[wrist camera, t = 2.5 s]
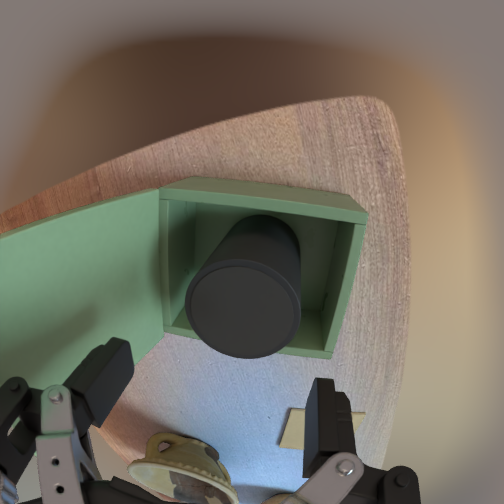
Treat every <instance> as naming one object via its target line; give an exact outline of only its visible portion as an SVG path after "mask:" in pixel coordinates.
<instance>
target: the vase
mask: <svg viewBox="0 0 504 504" xmlns="http://www.w3.org/2000/svg"><path fill="white" fill-rule="evenodd" d="M289 495H291V493H284V494H277V495H274V496H272V497H271V498H269V499H267V500H265V501H263V502H262V503H261V504H279V503H281V502H282V501H283V500H284V499H285V498H286V497H288V496H289Z"/></svg>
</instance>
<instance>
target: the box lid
mask: <svg viewBox="0 0 504 504" xmlns="http://www.w3.org/2000/svg"><path fill="white" fill-rule="evenodd" d="M112 337H117V338H120V339H124V340H127V341H129V342H130V346H131V351H132V356H133V361H134V366H135V365H136V364H137V363H138V362H139V361H140V360H141V359H142V358H143V357H144V356H145V355H146V354H147V353H148V352H149V351H150V350H151V349H152V348H153V347H154V346H155V345H156V344H157V343H158V342H159V341H160V340H161V339H162V338H163V337H164V329H163V316H162V302H161V285H160V262H159V189H153V188H149V189H145V190H141V191H137V192H133V193H129V194H125V195H121V196H117V197H113V198H110V199H106V200H103V201H99V202H95V203H92V204H88V205H85V206H82V207H78V208H75V209H72V210H68V211H65V212H62V213H59V214H56V215H53V216H50V217H47V218H44V219H41V220H38V221H35V222H32V223H29V224H26V225H23V226H21V227H18V228H15V229H13V230H10V231H7V232H5V233H2V234H0V387H1V386H2V385H3V384H4V383H5V382H6V381H7V380H8V379H9V378H11V377H16V376H18V377H22V378H24V379H25V380H26V382H27V383H28V385H29V387H31V388H36V389H41V390H44V389H46V388H47V387H49V386H51V385H56V384H58V385H62V384H63V383H64V381H65V380H66V379H67V378H68V377H69V376H70V374H71V373H72V372H73V371H74V370H75V369H76V367H77V366H78V365H79V364H81V362H82V360H83V359H84V358H86V356H87V355H88V354H89V352H90V351H91V350H92V349H94V348H96V347H97V346H99V345H101V344H103V345H105V344H106V343H107V342H108V341H109V340H110V338H112ZM19 420H20V419H19V417H18V418H17V419H16V420H15V422H14V423H13V425H12V426H11V427H12V429H14V427H15V426H16V425H17V423H18V422H19ZM34 455H35V456H36V457H37V453H36V452H35V453H34Z"/></svg>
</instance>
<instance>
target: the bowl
mask: <svg viewBox="0 0 504 504" xmlns="http://www.w3.org/2000/svg"><path fill="white" fill-rule="evenodd" d="M162 442H164V443H168V444H170V447H168V448H166V449H164V450H163V451H160V452H159V450H158V447H159V445H160V444H161V443H162ZM218 459H219V453H218V452H217V451H216V450H215V449H214V448H212V447H211V446H209V445H206V444H205V443H203V442H201V441H198V440H195V439H190V438H184V437H181V436H179V435H176V434H172V433H157V434H154V435H153V436H152V437H151V438H150V439H149V441H148V443H147V446H146V454H145V458H142V459H137V460H134V461H133V462H132V463H131V464H130V465H129V466H128V467H127V471H128V473H129V474H130V475H131V476H132V477H133V478H134V479H135V480H137V481H138V482H140V483H142V484H143V485H145V486H147V487H148V488H150V489H153V490H155V491H157V492H159V493H162V494H164V495H167V496H169V497H172V498H175V499H178V500H181V501H184V502H187V503H196V504H238V503H239V500H238V497H237V492H236V490H235V489H234V487H233V486H231V480H230V476H229V474H228V472H227V470H226V468H225V467H224V465H223V464H222V463H220V461H219V460H218Z"/></svg>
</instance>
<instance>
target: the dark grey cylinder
mask: <svg viewBox="0 0 504 504" xmlns="http://www.w3.org/2000/svg"><path fill="white" fill-rule="evenodd" d="M185 311H186V315H187V318H188V321H189V323H190V325H191V327H192V329H193V330H194V332H195V333H196V334H197V336H198V337H199V338H200V339H201V340H202V341H203V342H204V343H206V344H207V345H208V346H210V347H211V348H213V349H214V350H216V351H218V352H220V353H223V354H225V355H228V356H232V357H236V358H243V359H254V358H261V357H266V356H269V355H272V354H274V353H276V352H278V351H279V350H281V349H283V348H284V347H285V346H286V345H287V344H288V343H289V342H290V341H291V340H292V339H293V337H294V336H295V334H296V332H297V330H298V328H299V325H300V319H301V260H300V245H299V241H298V238H297V236H296V234H295V233H294V231H293V230H292V229H291V228H290V226H289V225H287V224H286V223H285V222H283V221H282V220H280V219H278V218H276V217H273V216H270V215H262V214H260V215H252V216H248V217H245V218H243V219H241V220H240V221H238V222H237V223H236V224H235V225H234V226H233V227H232V228H231V229H230V231H229V232H228V233H227V234H226V236H225V237H224V238H223V240H222V241H221V242H220V243H219V245H218V246H217V247H216V249H215V250H214V251H213V253H212V254H211V255H210V256H209V258H208V259H207V260H206V262H205V263H204V264H203V266H202V267H201V268H200V270H199V271H198V272H197V274H196V275H195V276H194V277H193V279H192V280H191V282H190V284H189V286H188V288H187V291H186V295H185Z"/></svg>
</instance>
